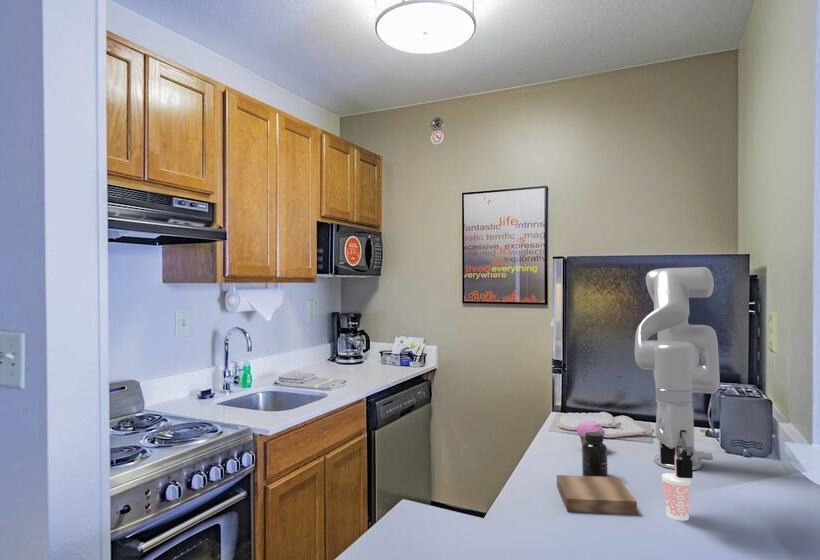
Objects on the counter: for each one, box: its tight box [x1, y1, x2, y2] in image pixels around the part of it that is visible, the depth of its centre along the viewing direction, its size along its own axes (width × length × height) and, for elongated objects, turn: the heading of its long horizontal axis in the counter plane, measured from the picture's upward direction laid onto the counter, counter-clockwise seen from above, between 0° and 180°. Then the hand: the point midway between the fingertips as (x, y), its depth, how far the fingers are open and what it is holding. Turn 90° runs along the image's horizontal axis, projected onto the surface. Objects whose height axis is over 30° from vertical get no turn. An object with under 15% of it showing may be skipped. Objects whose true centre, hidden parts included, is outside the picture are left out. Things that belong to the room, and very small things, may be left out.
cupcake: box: [576, 420, 605, 445], centre depth 165 cm, size 9×9×10 cm
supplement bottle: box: [581, 432, 609, 477], centre depth 142 cm, size 7×7×12 cm
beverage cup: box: [661, 455, 692, 522], centre depth 116 cm, size 6×6×14 cm
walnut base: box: [556, 474, 638, 515], centre depth 126 cm, size 16×16×3 cm
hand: (676, 470), depth 115 cm, fingers open, 9 cm apart
